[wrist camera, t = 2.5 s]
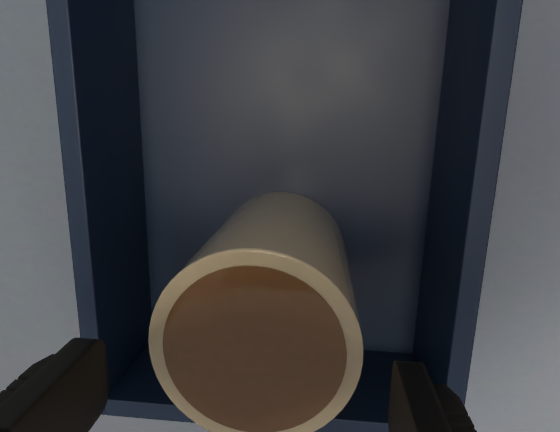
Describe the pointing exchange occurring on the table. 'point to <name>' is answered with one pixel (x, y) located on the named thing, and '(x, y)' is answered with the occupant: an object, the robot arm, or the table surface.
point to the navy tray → (284, 162)
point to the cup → (261, 322)
